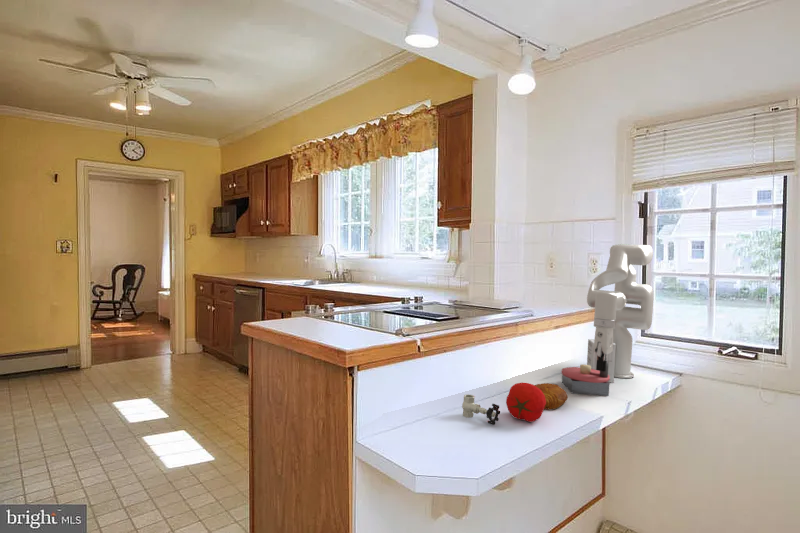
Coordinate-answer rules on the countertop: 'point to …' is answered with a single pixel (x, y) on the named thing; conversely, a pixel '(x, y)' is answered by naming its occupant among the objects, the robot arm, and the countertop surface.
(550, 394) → the croissant
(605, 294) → the robot arm
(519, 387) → the tomato
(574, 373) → the handwheel
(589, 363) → the supplement box
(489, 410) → the valve
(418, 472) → the countertop surface
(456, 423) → the countertop surface
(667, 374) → the countertop surface
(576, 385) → the housing
